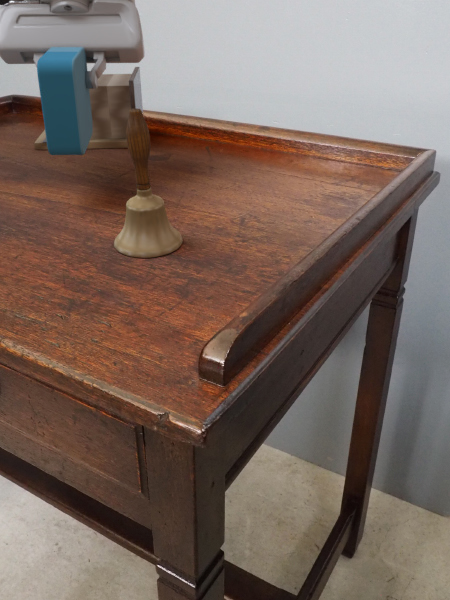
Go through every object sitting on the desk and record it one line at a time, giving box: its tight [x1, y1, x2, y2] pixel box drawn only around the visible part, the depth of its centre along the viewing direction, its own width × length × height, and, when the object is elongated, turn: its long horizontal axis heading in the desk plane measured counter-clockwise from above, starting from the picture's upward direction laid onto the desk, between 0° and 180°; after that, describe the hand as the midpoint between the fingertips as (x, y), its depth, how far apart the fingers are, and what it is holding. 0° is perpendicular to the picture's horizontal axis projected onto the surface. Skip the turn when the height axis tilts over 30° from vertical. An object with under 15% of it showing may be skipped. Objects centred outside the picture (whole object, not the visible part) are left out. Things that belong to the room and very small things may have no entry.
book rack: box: [33, 66, 144, 151], centre depth 110 cm, size 18×13×11 cm
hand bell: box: [113, 108, 184, 259], centre depth 71 cm, size 8×8×16 cm
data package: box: [36, 47, 93, 156], centre depth 82 cm, size 12×4×12 cm, turn 4°
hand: (69, 86), depth 84 cm, fingers closed on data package, 4 cm apart
